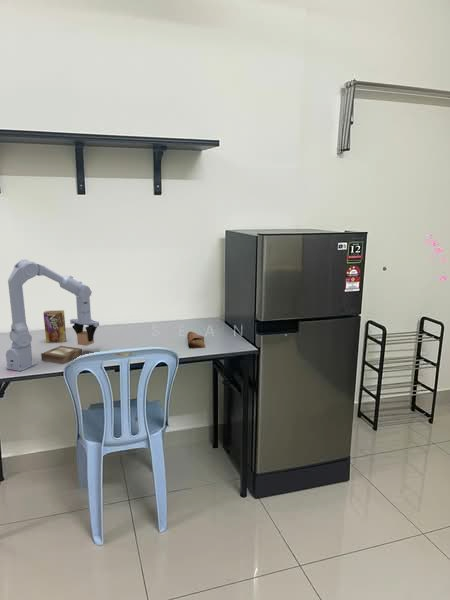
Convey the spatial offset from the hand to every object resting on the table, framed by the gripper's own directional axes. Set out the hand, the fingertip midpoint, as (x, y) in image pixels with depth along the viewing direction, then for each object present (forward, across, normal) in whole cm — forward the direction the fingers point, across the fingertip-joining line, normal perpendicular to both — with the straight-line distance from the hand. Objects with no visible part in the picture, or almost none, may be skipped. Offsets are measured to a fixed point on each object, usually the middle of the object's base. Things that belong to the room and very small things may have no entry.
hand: (85, 340), depth 201 cm
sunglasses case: (+6, -40, -32) cm, 51 cm away
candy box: (+6, +25, -8) cm, 27 cm away
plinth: (+6, +5, +10) cm, 12 cm away
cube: (+2, 0, 0) cm, 2 cm away
